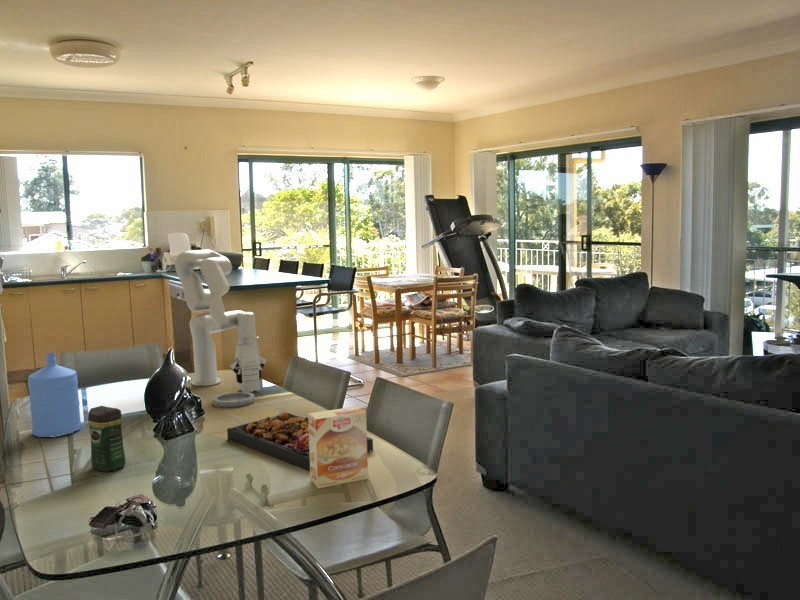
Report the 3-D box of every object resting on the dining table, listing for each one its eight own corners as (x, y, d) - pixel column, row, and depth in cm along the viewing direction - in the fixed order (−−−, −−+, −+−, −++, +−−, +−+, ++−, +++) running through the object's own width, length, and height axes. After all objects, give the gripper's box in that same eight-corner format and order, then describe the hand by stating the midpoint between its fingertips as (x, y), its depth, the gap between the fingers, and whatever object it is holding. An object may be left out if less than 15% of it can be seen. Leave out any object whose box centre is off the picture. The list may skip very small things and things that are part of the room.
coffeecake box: (318, 489, 191) (315, 419, 189) (309, 480, 198) (306, 412, 195) (369, 479, 198) (366, 411, 195) (359, 471, 204) (357, 405, 202)
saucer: (206, 402, 286) (206, 397, 285) (242, 395, 296) (242, 389, 296) (225, 409, 274) (224, 404, 273) (261, 402, 284) (261, 396, 284)
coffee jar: (130, 466, 213) (126, 406, 211) (107, 474, 207) (102, 412, 204) (110, 460, 218) (106, 402, 216) (87, 468, 212) (82, 408, 210)
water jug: (89, 430, 251) (82, 352, 247) (42, 441, 239) (35, 360, 236) (70, 422, 261) (64, 348, 258) (25, 432, 250) (18, 355, 247)
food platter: (373, 452, 222) (372, 420, 221) (310, 473, 205) (309, 438, 204) (288, 424, 254) (286, 396, 252) (227, 441, 237) (226, 411, 235)
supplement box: (239, 389, 305) (237, 361, 304) (256, 387, 308) (254, 359, 307) (243, 393, 299) (241, 364, 297) (260, 391, 302) (258, 362, 300)
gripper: (260, 337, 309) (262, 376, 311) (224, 342, 298) (226, 383, 300) (269, 339, 304) (271, 379, 306) (232, 344, 293) (234, 386, 295)
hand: (249, 380), depth 303 cm, fingers closed on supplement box, 8 cm apart
